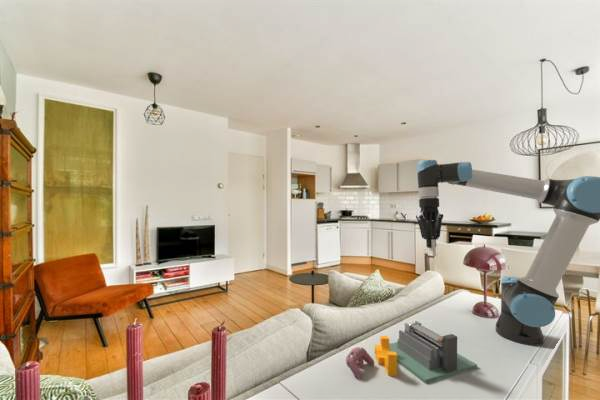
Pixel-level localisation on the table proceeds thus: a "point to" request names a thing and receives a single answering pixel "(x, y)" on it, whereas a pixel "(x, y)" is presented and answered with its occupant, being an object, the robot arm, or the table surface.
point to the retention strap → (427, 334)
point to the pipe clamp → (386, 356)
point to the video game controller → (358, 360)
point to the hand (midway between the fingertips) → (431, 255)
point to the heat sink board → (429, 355)
